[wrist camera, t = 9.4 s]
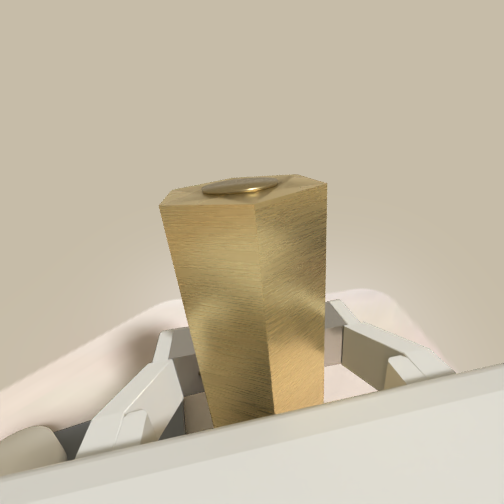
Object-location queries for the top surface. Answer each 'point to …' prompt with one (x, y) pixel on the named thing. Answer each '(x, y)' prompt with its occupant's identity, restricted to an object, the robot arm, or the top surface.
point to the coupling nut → (253, 290)
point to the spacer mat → (59, 444)
